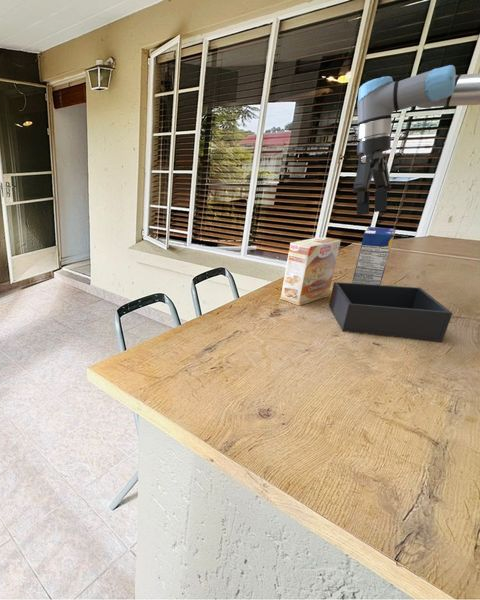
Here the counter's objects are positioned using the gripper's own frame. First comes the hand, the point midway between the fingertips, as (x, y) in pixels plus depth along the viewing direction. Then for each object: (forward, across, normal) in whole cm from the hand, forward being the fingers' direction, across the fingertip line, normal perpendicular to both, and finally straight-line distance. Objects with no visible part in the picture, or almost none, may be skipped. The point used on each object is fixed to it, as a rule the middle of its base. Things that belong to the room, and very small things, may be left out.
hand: (371, 213), depth 105 cm
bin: (+30, +13, +6) cm, 33 cm away
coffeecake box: (+26, +9, -15) cm, 31 cm away
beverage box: (+28, -5, -3) cm, 28 cm away
